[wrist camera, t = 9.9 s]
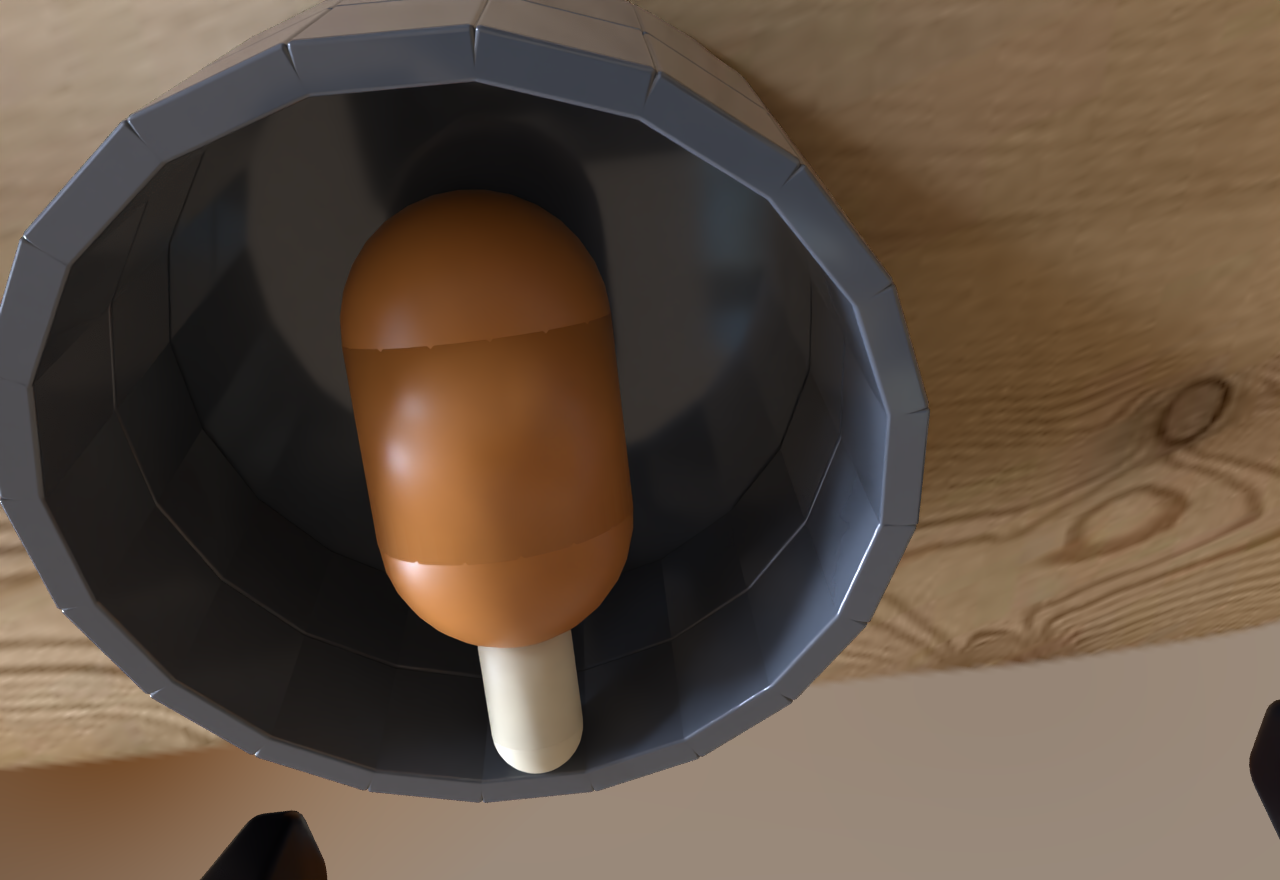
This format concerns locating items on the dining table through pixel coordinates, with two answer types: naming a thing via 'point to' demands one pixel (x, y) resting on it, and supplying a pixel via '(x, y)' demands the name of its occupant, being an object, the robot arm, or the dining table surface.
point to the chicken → (493, 444)
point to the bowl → (324, 418)
